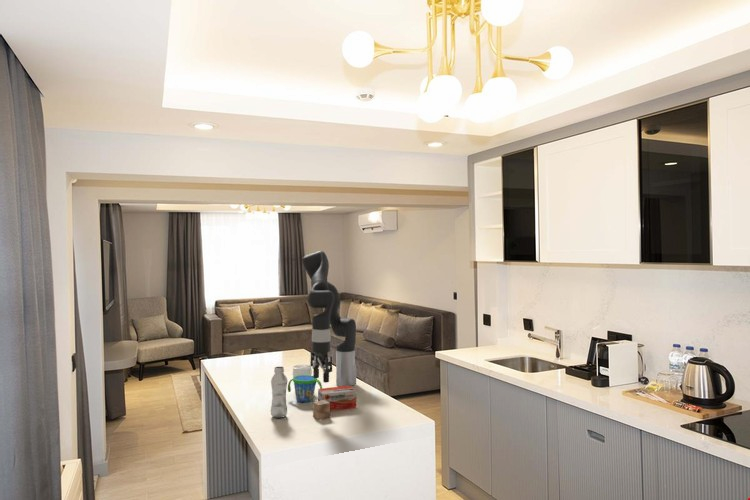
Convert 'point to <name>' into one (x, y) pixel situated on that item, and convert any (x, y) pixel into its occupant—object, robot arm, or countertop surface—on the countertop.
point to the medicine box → (339, 397)
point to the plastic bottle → (279, 393)
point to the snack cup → (304, 387)
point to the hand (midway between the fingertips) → (321, 380)
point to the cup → (301, 370)
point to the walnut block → (321, 409)
